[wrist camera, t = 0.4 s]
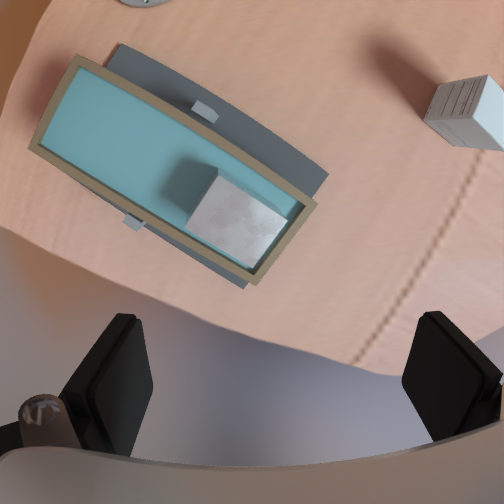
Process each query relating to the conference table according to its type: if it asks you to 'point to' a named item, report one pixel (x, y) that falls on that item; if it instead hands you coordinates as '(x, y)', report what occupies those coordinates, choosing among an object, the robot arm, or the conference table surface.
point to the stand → (220, 121)
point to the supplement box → (469, 113)
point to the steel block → (235, 218)
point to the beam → (154, 159)
